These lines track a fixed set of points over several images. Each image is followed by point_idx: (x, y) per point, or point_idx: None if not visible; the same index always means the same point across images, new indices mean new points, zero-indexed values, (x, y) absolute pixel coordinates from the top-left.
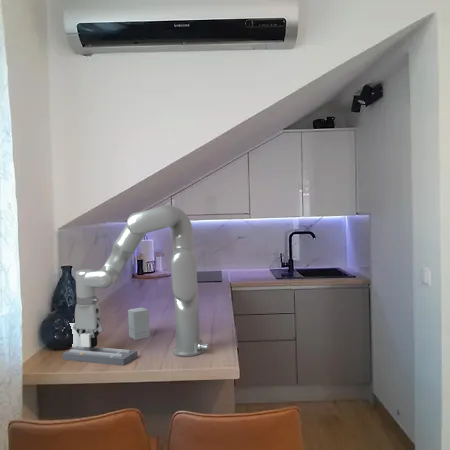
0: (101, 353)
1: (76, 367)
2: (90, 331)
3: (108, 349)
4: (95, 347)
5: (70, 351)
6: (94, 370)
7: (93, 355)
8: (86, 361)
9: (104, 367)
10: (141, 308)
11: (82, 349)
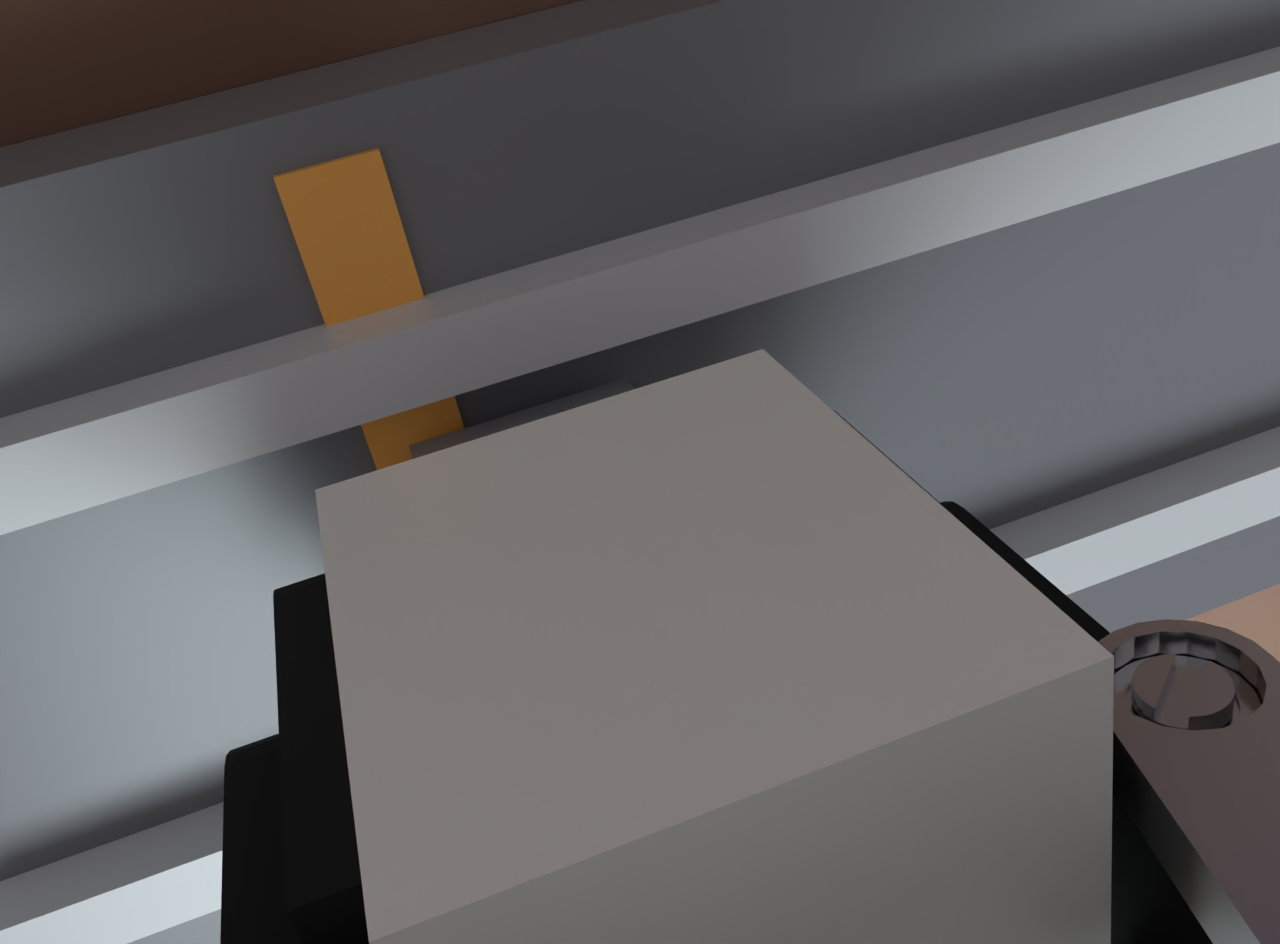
0: (1168, 546)
1: None
2: (649, 882)
3: (1149, 170)
4: (613, 316)
5: (48, 936)
6: None
7: None
8: None
9: (1271, 619)
10: None
11: (128, 556)
